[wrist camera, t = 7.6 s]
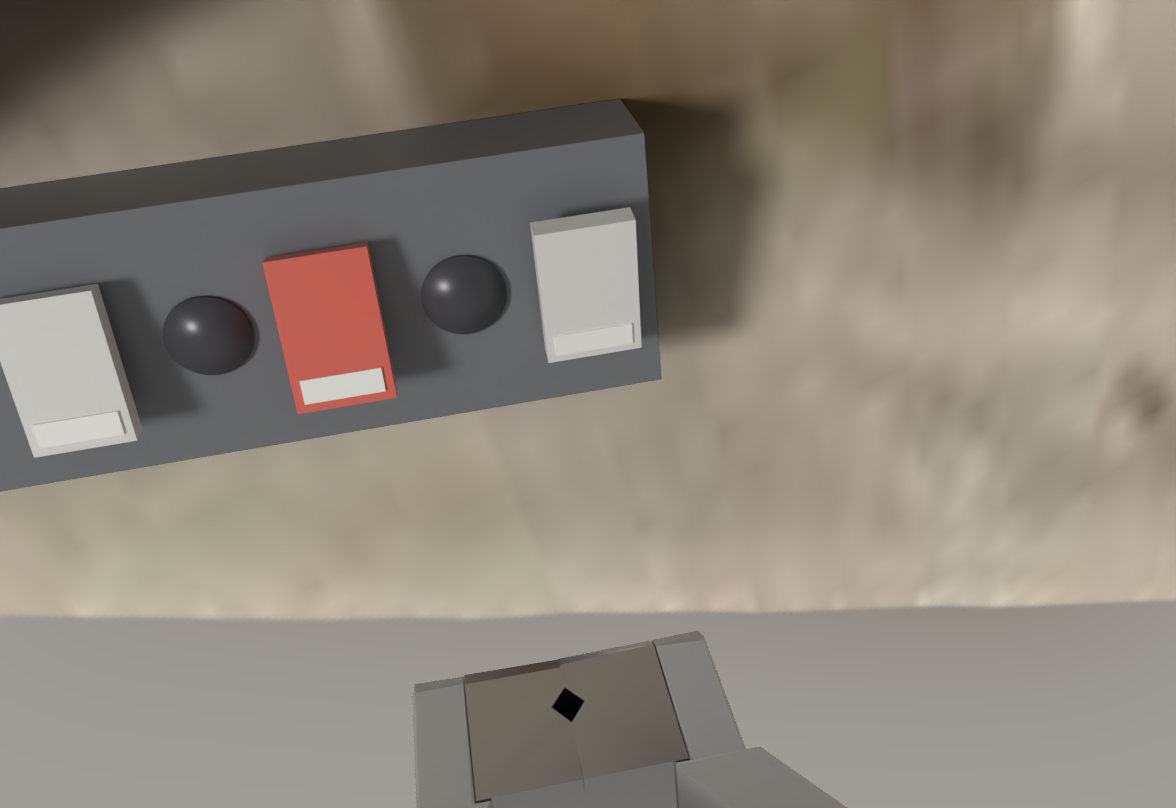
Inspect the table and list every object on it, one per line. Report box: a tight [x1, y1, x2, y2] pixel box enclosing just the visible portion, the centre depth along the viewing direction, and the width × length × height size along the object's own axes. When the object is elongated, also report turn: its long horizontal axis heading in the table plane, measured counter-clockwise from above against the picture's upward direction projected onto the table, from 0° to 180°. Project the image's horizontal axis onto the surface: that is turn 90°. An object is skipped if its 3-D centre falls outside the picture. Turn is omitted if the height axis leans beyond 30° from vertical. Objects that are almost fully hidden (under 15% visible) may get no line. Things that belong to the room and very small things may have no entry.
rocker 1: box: [0, 284, 143, 458], centre depth 34 cm, size 3×5×1 cm, turn 6°
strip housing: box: [0, 99, 661, 491], centre depth 37 cm, size 25×9×4 cm, turn 96°
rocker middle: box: [262, 242, 397, 414], centre depth 35 cm, size 3×5×1 cm, turn 6°
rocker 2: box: [530, 207, 642, 363], centre depth 36 cm, size 3×5×1 cm, turn 6°
